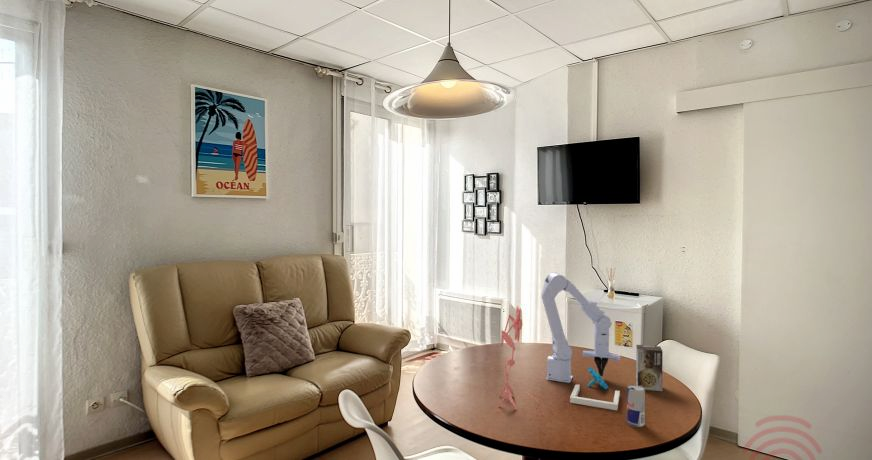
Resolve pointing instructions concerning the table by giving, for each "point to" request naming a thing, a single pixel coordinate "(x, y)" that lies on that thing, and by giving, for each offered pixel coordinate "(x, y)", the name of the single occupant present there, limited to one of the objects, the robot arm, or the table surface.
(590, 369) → the gear
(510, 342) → the figurine
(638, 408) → the energy drink
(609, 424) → the table surface
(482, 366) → the table surface
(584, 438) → the table surface
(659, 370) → the coffee box
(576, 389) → the bracket
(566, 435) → the table surface
